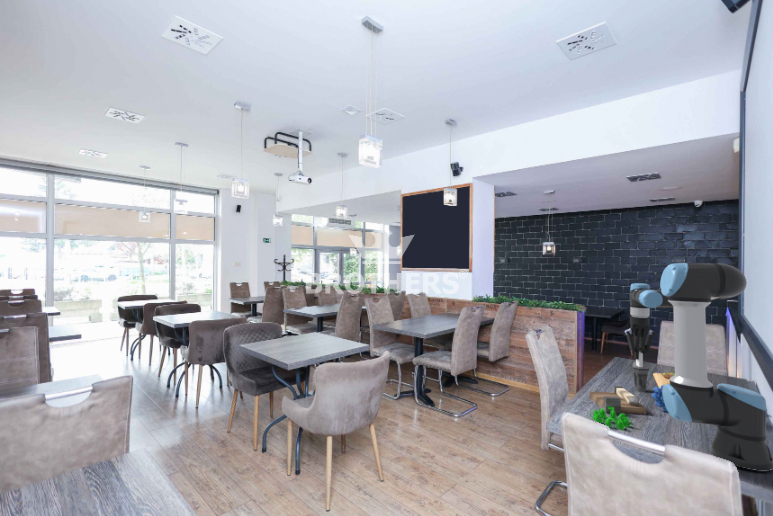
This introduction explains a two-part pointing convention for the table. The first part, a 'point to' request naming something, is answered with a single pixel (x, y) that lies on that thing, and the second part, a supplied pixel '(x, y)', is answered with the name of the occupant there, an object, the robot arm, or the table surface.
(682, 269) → the robot arm
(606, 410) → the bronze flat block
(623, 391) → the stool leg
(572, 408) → the table surface
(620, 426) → the green knobby part
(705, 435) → the table surface
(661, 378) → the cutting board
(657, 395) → the grapes
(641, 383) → the beverage cup
